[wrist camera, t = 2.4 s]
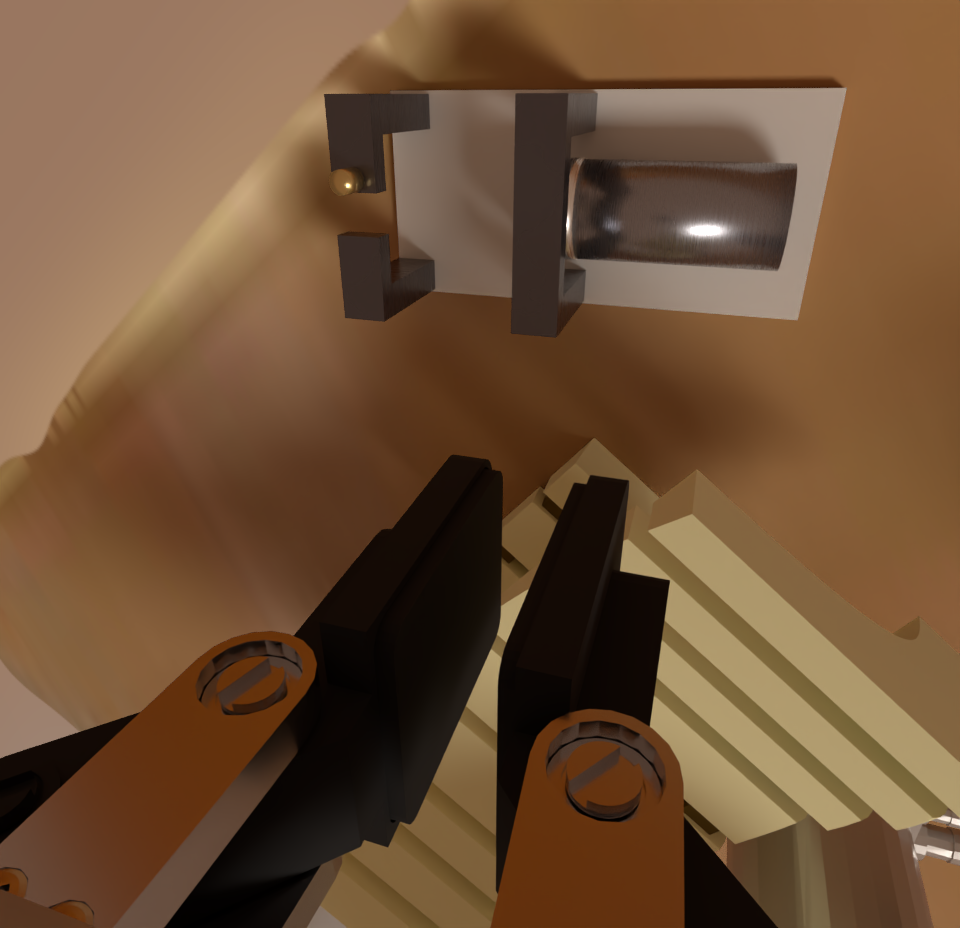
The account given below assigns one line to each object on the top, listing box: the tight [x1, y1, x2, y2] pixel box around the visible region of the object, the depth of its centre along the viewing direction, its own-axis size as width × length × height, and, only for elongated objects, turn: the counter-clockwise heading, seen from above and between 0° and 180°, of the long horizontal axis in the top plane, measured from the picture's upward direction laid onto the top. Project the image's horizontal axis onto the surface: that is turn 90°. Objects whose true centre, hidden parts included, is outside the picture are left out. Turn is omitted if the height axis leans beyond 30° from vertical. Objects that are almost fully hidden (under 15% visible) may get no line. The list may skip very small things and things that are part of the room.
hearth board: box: [390, 88, 847, 320], centre depth 33 cm, size 20×10×1 cm, turn 91°
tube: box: [565, 157, 797, 271], centre depth 30 cm, size 10×4×4 cm, turn 91°
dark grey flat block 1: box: [511, 93, 598, 338], centre depth 31 cm, size 2×9×6 cm, turn 1°
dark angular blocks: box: [324, 94, 435, 322], centre depth 32 cm, size 2×9×8 cm, turn 1°
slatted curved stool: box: [320, 438, 960, 928], centre depth 36 cm, size 30×16×18 cm, turn 142°
